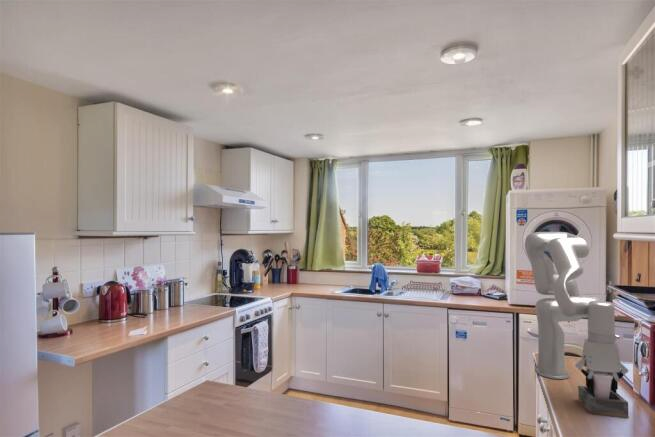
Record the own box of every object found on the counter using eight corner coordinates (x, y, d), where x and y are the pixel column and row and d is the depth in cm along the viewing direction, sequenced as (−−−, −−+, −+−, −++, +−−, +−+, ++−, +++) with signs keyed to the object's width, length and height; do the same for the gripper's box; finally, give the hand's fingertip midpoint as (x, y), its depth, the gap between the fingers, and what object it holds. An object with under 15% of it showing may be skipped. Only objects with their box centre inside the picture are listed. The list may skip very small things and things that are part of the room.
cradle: (578, 399, 136) (578, 385, 136) (612, 403, 133) (612, 388, 133) (591, 414, 125) (591, 398, 125) (628, 418, 123) (628, 402, 123)
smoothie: (617, 406, 126) (617, 364, 126) (595, 404, 127) (595, 362, 127) (607, 397, 132) (607, 357, 132) (586, 396, 133) (586, 356, 133)
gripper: (624, 336, 131) (625, 388, 131) (568, 332, 136) (569, 383, 135) (636, 342, 124) (637, 398, 124) (577, 339, 128) (577, 392, 128)
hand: (601, 389), depth 130 cm, fingers closed on smoothie, 6 cm apart
